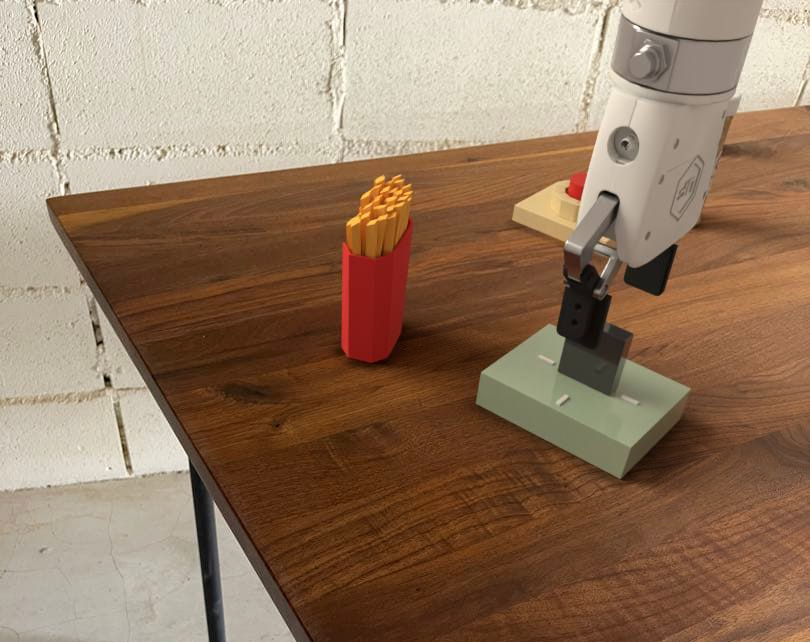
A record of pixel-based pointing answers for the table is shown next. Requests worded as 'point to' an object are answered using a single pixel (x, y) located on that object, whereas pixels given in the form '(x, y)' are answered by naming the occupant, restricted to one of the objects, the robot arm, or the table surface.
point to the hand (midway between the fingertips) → (611, 313)
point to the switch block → (552, 212)
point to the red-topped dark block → (598, 359)
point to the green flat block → (581, 404)
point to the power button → (577, 185)
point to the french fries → (376, 271)
